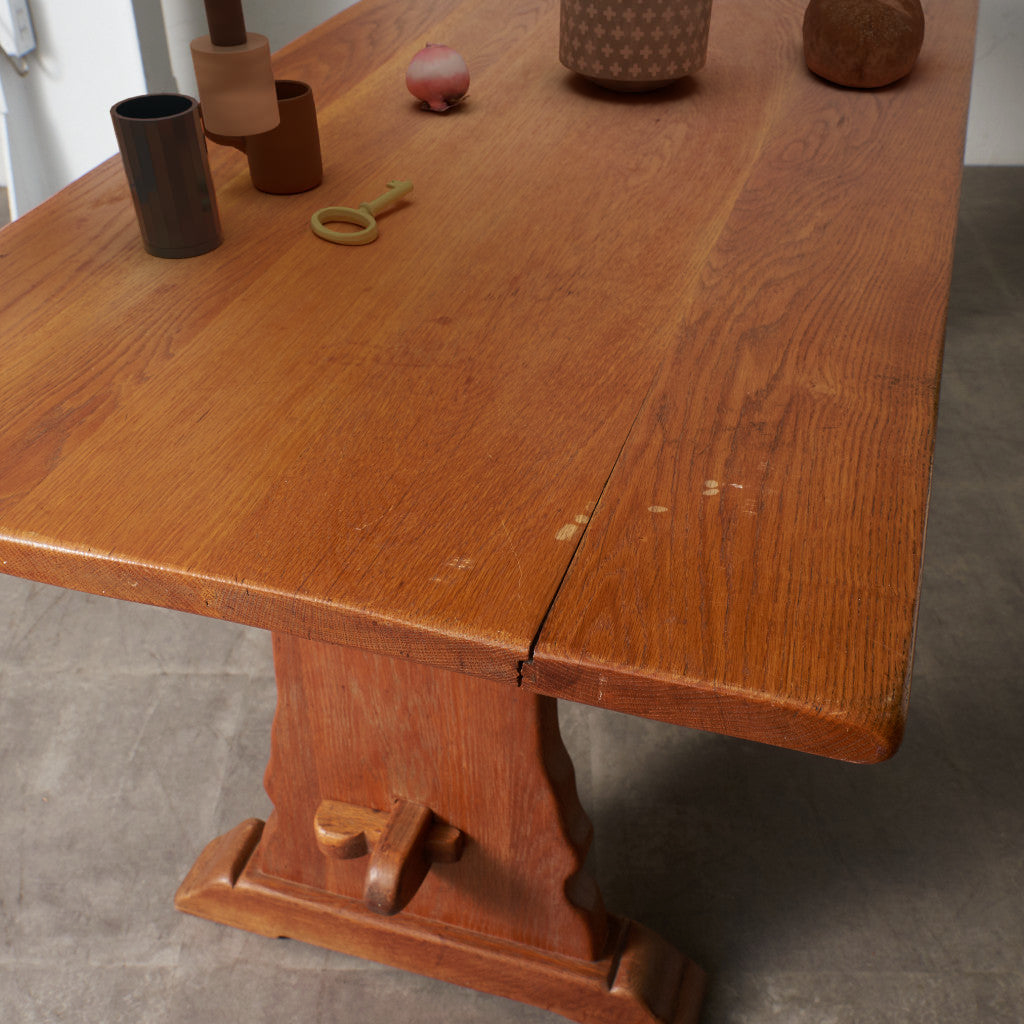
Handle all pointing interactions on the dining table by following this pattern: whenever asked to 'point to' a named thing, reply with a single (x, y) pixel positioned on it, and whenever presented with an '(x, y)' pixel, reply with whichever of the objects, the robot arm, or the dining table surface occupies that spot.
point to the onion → (438, 76)
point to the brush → (234, 74)
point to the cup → (168, 173)
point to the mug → (283, 143)
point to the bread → (863, 40)
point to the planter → (634, 41)
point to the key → (359, 216)
